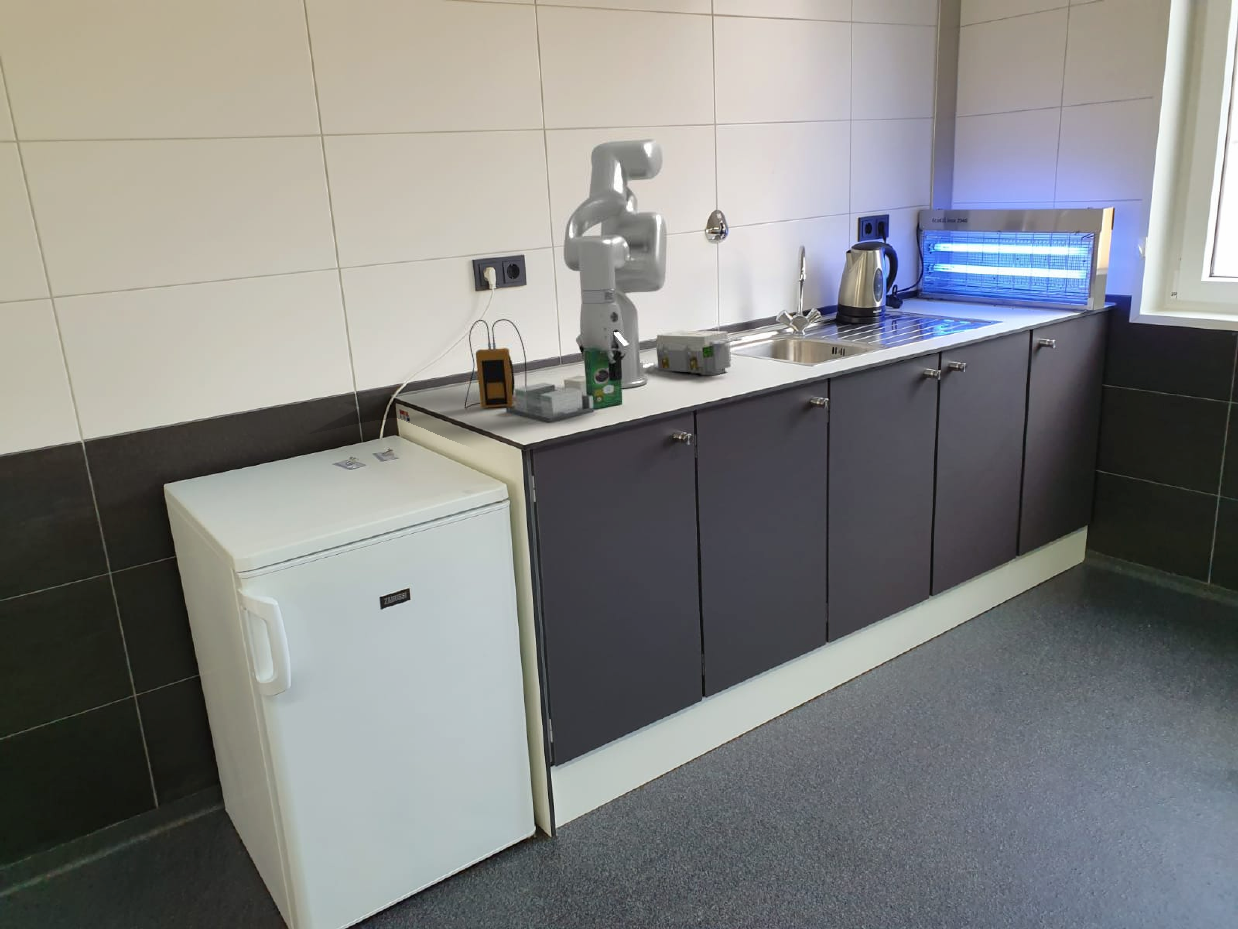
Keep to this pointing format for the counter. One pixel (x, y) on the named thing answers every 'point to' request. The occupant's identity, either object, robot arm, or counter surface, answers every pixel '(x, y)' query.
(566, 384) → the block
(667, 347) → the grey electrical enclosure
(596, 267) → the robot arm
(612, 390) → the coffee box
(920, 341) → the counter surface
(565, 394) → the rail base
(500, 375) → the multimeter
